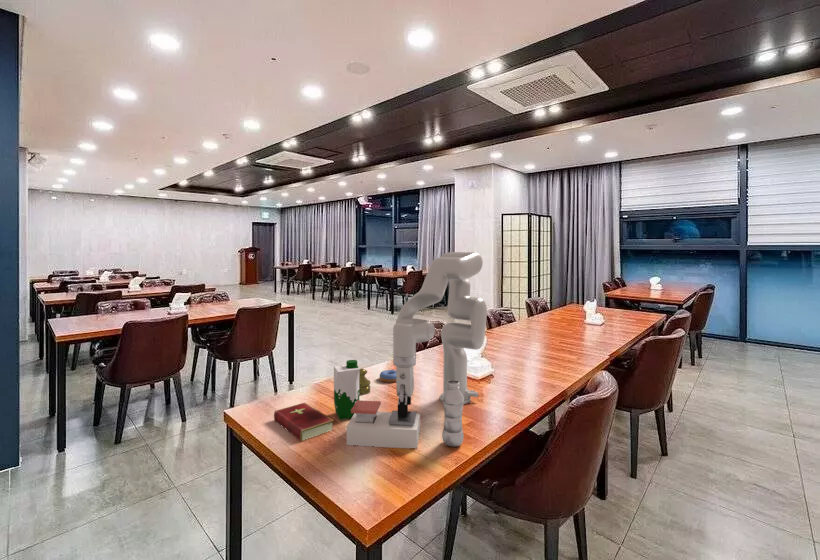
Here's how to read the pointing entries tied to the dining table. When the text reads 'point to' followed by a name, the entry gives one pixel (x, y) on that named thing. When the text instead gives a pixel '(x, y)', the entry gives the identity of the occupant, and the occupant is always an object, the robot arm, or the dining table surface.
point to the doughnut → (388, 376)
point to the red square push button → (366, 411)
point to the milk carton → (346, 388)
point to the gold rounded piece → (363, 382)
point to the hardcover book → (303, 421)
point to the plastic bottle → (453, 415)
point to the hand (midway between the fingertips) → (404, 410)
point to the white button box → (383, 432)
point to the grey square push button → (403, 418)
